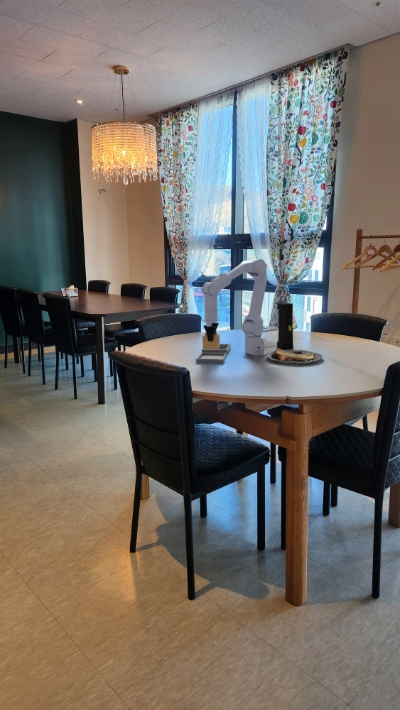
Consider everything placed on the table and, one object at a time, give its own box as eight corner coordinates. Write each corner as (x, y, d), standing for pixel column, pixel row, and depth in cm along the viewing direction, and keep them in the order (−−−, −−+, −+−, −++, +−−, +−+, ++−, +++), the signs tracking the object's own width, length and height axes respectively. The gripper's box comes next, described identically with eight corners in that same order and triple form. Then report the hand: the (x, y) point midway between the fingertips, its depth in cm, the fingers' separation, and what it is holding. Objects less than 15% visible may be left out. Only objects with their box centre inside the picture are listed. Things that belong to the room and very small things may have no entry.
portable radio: (295, 349, 232) (296, 298, 227) (284, 351, 230) (285, 299, 225) (286, 347, 239) (287, 297, 234) (276, 348, 237) (276, 297, 232)
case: (206, 350, 236) (206, 343, 236) (230, 350, 234) (230, 344, 234) (201, 356, 223) (201, 349, 222) (227, 356, 221) (227, 349, 220)
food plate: (257, 362, 208) (257, 354, 207) (275, 352, 228) (275, 345, 227) (314, 369, 196) (315, 360, 196) (327, 358, 217) (328, 350, 216)
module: (204, 346, 216) (204, 332, 215) (219, 346, 215) (219, 332, 213) (202, 348, 211) (202, 334, 210) (218, 348, 210) (217, 334, 209)
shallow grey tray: (201, 356, 223) (201, 351, 222) (227, 356, 221) (227, 352, 220) (195, 363, 209) (195, 359, 208) (223, 364, 206) (223, 359, 206)
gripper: (204, 307, 217) (205, 337, 220) (199, 311, 203) (199, 343, 206) (220, 307, 216) (220, 337, 219) (215, 311, 202) (216, 343, 205)
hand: (211, 340), depth 212 cm, fingers closed on module, 5 cm apart
